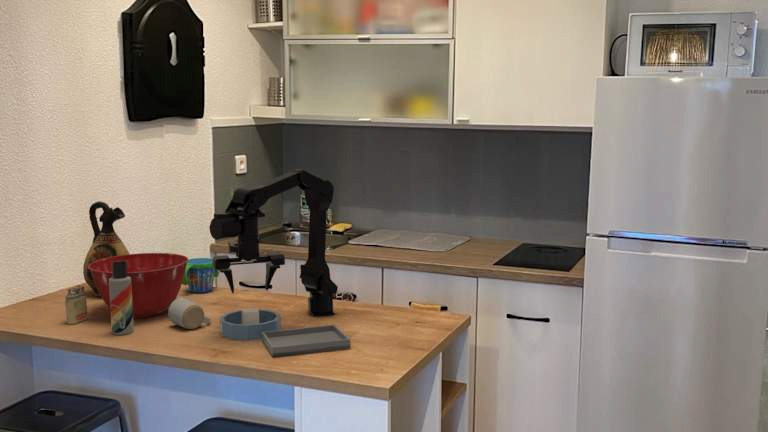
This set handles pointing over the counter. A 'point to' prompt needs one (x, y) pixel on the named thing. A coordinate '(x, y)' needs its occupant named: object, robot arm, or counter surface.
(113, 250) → the ceramic jug
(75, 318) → the lighter
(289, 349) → the tray
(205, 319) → the ceramic mug
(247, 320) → the beige rectangular block
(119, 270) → the lotion bottle
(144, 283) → the mixing bowl
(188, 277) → the snack cup
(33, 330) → the counter surface
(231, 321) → the blue ring
